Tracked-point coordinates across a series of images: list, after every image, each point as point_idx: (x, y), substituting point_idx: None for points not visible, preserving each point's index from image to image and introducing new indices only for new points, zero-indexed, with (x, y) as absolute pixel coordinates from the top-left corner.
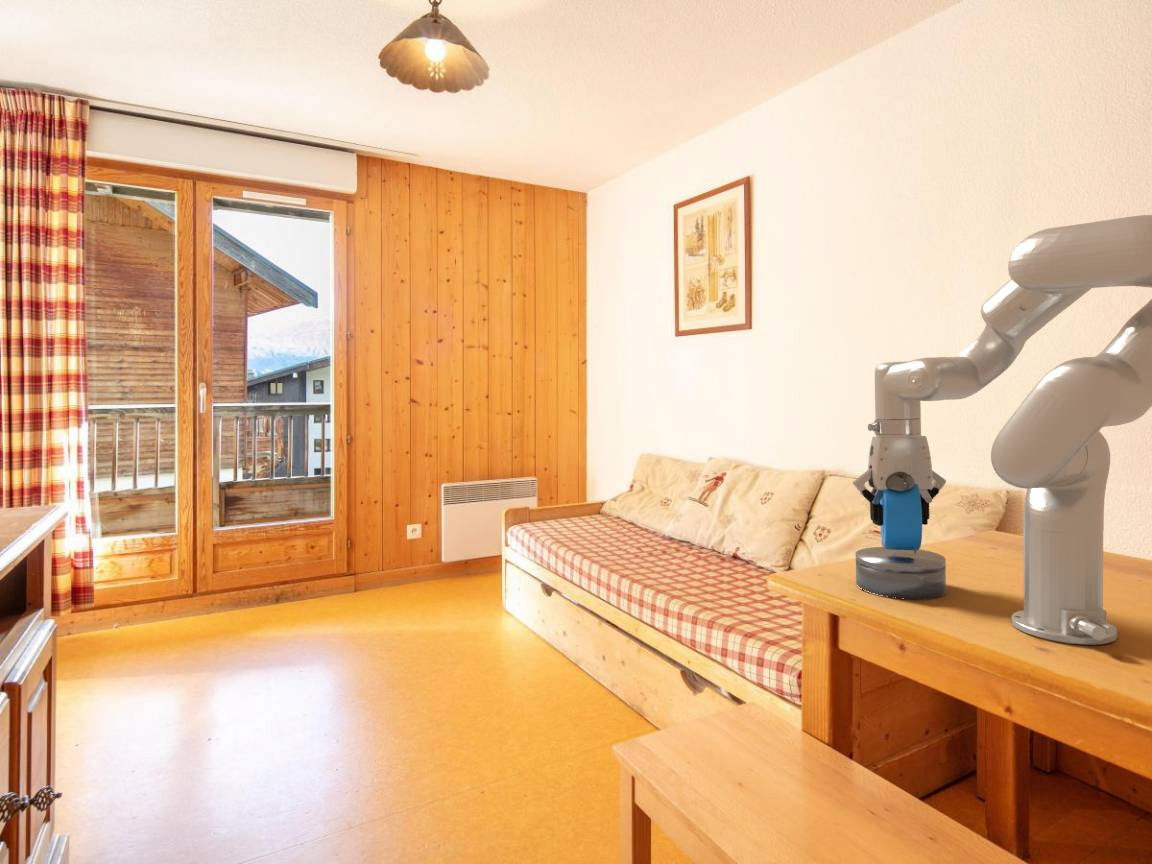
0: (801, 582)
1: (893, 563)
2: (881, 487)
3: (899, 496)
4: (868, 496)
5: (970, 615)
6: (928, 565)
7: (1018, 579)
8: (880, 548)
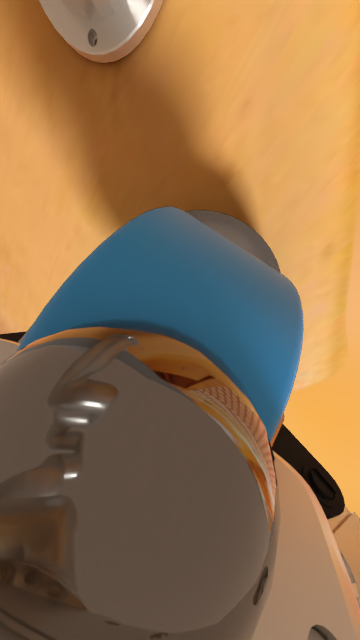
0: (322, 355)
1: (250, 251)
2: (299, 483)
3: (210, 326)
4: (300, 453)
5: (201, 93)
6: (191, 211)
7: (53, 269)
8: None
